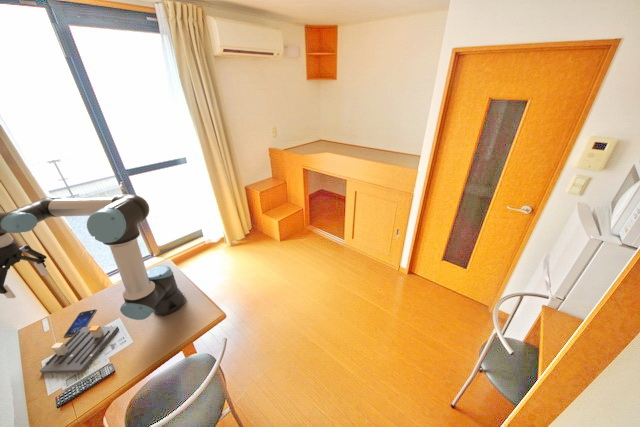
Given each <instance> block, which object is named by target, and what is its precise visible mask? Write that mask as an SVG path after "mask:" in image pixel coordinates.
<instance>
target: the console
mask: <svg viewBox="0 0 640 427" xmlns="http://www.w3.org/2000/svg"><path fill="white" fill-rule="evenodd" d="M91 327H92V326H87V327H82V328H81V329H80V330H79V331H77V332H76V333H75V334H74V335H73V336H70V337H71V338H70V337H69V339H68V341H66V342H64V344H65V346H66V347H67V349H68V350H69V351H68V352H67V354H66V355H58V356H57V354H56V353H55V354H53V355H52V356H51V358H49V359H48V360H47V361H46V362H45V364H44V366H42V368H41V369H39V372H40V373H41V374H42V375H43V374H44V375H45V374H46V373H56V374H83V373H84V372H85V371H86V369H87V368H89V366H90V365H91V364H92V362H94V361H95V359H96V358H97V357H98V355H99V354H100V353H101V352H102V350H103V349H104V348H105V347H106V346H107V345H108V343H109V342H110V341H111V340H112V339H113V337H114V336H115V335H116V334H117V333H118V331H119V327H118V326H100V327H101V329H102V331H103V333H104V334H103V336H102V337H101V338H94V337H93V336H92V334H91V333H90V332H89V329H90V328H91ZM46 375H47V374H46Z"/></svg>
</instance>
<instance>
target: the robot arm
mask: <svg viewBox="0 0 640 427" xmlns="http://www.w3.org/2000/svg"><path fill="white" fill-rule="evenodd" d="M149 206H150V205H149V202H148V201H147V200H146V199H145V198H144V197H141V196H139V195H137V194H133V193H132V194H130V193H129V194H128V193H127V194H123V193H122V194H116V195H114V196H112V197H89V198H88V197H86V198H85V197H83V198H62V197H60V196H56V195H51V196H48V197H43V198H40V199H39V200H37V201H34V202H31V203H28V204H26V205H23V206H21V207H18V208H15V209H13V210H11V211H8V212H0V294H1V295H4V296H5V298H6V299H16V298H17V295H16V294H15V293H14V292H13V291H12V290H11V288H10V287H9V285H8V284H5V282H6V278H7V274H8V271H9V270H10V268H11V267H12V266H14V265H15V264H17V263H19V262H21V261H27V262H31V263H34V264H33V265H34V266H35V268H36V269H37V271H38V273H40V275H41V276H42V277H43V276H49V275H50V273H49V272H48V270H47V265H46V264H45V262H46V259H47V257H48V256H46V255H45V254H43V253H41V252H39V251H37V250H34V249H33V248H31V246H30V245H20V246H19V245H18V244H17V242H16V241H15V240H14V237H13V236H12V235H11V234H18V233H28V232H30V231H32V230H34V229H35V227H36V226H37V225H38V223H41V222H43V221H45V220H46V219H49V218H57V217H58V218H59V217H60V218H61V217H86V216H87V217H88V216H89V217H88V219H87V220H86V228H87V229H86V230H87V231H88V233H89V235H90V236H91V237H94V239H95V240H96V241H98V242H100V243H102V244H104V245H105V246H108V247H109V249H110V252H111V254H112V256H113V259H114V262H115V264H116V267H117V271H118V272H119V276H120V278H121V280H122V281H121V282H122V283H123V286H124V290H123V292H122V297H123V300H124V303H123V304H121V306H120V308H119V310H120V313H121V314H122V315H123V316H124V317H126V318H128V319H131V320H135V321H141V320H142V321H143V320H146V319H148V318H149V317H150V316H151V315H152V314H154V315H156V316H168V315H170V314H174V313H175V312H176V311H179V309H182V307H183V306H184V304H185V303H184V301H185V302H186V296H185V293H184V292H183V291H181V289H180V288H179V287H178V284H177V281H176V279H175V276H174V272H173V270H172V268H171V267H170V266H167V265H160V266H159V265H158V266H154V267H151V268H150V269H147V268H146V266H145V262H144V258H143V255H142V251H141V248H140V246H139V242H138V238H140V236H141V233H140V228H139V224H141V223H142V222H143V221H145V220H146V219H147V217H148V216H149V213H150V207H149ZM23 252H24V253H26V254H28V255H30V256H27V255H23ZM31 256H32V257H31ZM183 303H184V304H183ZM182 305H183V306H182ZM181 306H182V307H181Z"/></svg>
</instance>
